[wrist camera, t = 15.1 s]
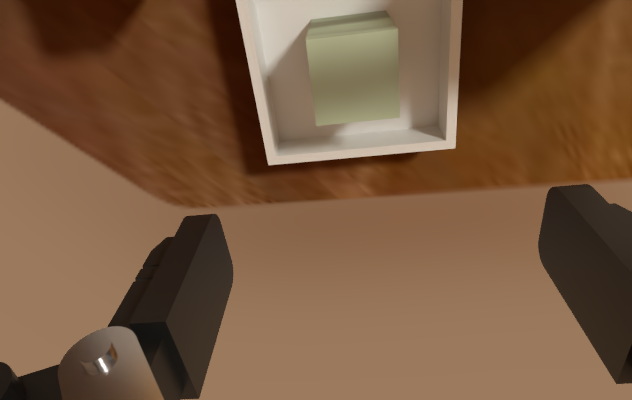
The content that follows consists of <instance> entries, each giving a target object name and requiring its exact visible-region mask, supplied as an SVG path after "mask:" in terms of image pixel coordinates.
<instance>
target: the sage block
mask: <svg viewBox="0 0 632 400" xmlns="http://www.w3.org/2000/svg"><path fill="white" fill-rule="evenodd" d="M306 48H307V56H308V64H309V72H310V80H311V88H312V96H313V104H314V112H315V120H316V126H320V125H331V124H341V123H351V122H361V121H372V120H382V119H392V118H400V102H399V48H398V28H397V27H396V25H395V24H394V22H393V21H392V19H391V18H390V16H389V15H388V13H387V12H386V10H385V11H377V12H369V13H360V14H352V15H344V16H336V17H327V18H319V19H311V22H310V26H309V29H308V33H307V36H306Z"/></svg>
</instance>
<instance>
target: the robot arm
mask: <svg viewBox="0 0 632 400" xmlns="http://www.w3.org/2000/svg"><path fill="white" fill-rule="evenodd" d="M538 246H539V247H538V248H539V254H540V259H541V262H542V264H543V266H544V268H545V269H546V271H547V273H548V274H549V276H550V278H551V279H552V281H553V282H554V284H555V286H556V287H557V289H558V290H559V292H560V293H561V295H562V297H563V299H564V300H565V302H566V303H567V305H568V307H569V308H570V310H571V311H572V313H573V315H574V316H575V318H576V319H577V321H578V322H579V324H580V326H581V328H582V329H583V331H584V332H585V334H586V336H587V337H588V339H589V340H590V342H591V344H592V345H593V347H594V348H595V350H596V352H597V353H598V355H599V357H600V358H601V360H602V361H603V363H604V365H605V366H606V368H607V369H608V371H609V373H610V374H611V376H612V378H613V379H614V381H615V382H616V384H623V383H632V212H631V211H629V210H627V209H625V208H623V207H621V206H619V205H617V204H609V203H608V202H607V201H606V200H605V199H604V198H603V197H602V196H601V195H600V194H599V193H598V192H597V191H596V190H595V189H594V188H593V187H592V186H590V185H588V184H583V185H571V186H559V187H552V188H551V189H550V190H549V191H548V194H547V198H546V203H545V208H544V214H543V219H542V225H541V230H540V235H539V242H538ZM232 283H233V265H232V260H231V257H230V253H229V250H228V246H227V243H226V239H225V236H224V232H223V229H222V225H221V222H220V219H219V217H218V216H217V215H216V214H208V215H196V216H186V217H185V218H184V219H183V221H182V223H181V225H180V227H179V229H178V231H177V232H176V235H175V236H174V237H167V238H165V239H164V240H163V241H162V242H161V243H160V244H159V245H157V246H156V247H155V248H154V249H153V250H152V251H151V252H150V254H149V256H148V258H147V259H146V261H145V263H144V264H143V269H141V270H140V272H139V273H138V275H137V277H136V281H135V282H133V284H132V285H131V287H130V289H129V290H128V292H127V294H126V296H125V298H124V299H123V301H122V303H121V305H120V306H119V308H118V310H117V311H116V313H115V315H114V316H113V318H112V320H111V322H110V323H109V325H108V327H107V328H103V329H100V330H97V331H95V332H93V333H91V334H89V335H87V336H85V337H84V338H82V339H81V340H80V341H78V342H77V343H76V344H75V345H73V346H72V347H71V349H69V350H68V352H67V353H66V354H65V356H64V357H63V359H62V360H61V362H60V364H59V365H56V366H52V367H49V368H46V369H43V370H40V371H36V372H33V373H30V374H27V375H24V376H21V377H17V376H16V375H15V373H14V372H13V371H12V369H11V368H10V367H9V366H8V365H7V364H5V363H2V362H0V400H180V399H198V398H199V397H200V393H201V390H202V386H203V383H204V380H205V376H206V373H207V369H208V366H209V362H210V359H211V355H212V352H213V349H214V345H215V342H216V339H217V335H218V332H219V328H220V325H221V321H222V318H223V315H224V311H225V308H226V304H227V301H228V298H229V294H230V291H231V287H232Z"/></svg>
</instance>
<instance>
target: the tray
mask: <svg viewBox="0 0 632 400" xmlns="http://www.w3.org/2000/svg"><path fill="white" fill-rule="evenodd" d="M236 5H237V10H238V15H239V20H240V25H241V30H242V35H243V40H244V45H245V50H246V55H247V60H248V65H249V70H250V75H251V80H252V86H253V91H254V96H255V101H256V106H257V111H258V116H259V121H260V126H261V131H262V136H263V141H264V146H265V151H266V156H267V161H268V165H278V164H289V163H300V162H311V161H322V160H333V159H343V158H354V157H365V156H376V155H387V154H398V153H409V152H420V151H431V150H442V149H453V148H455V144H456V125H457V105H458V86H459V67H460V47H461V28H462V9H463V0H236ZM385 10H386V12H387V13H388V15H389V16H390V18H391V19H392V21H393V22H394V24H395V25H396V27H397V28H398V48H399V102H400V118H392V119H382V120H372V121H361V122H351V123H341V124H331V125H320V126H316V120H315V112H314V104H313V96H312V88H311V80H310V72H309V64H308V56H307V48H306V36H307V33H308V29H309V26H310V22H311V19H319V18H327V17H336V16H344V15H352V14H360V13H369V12H377V11H385Z"/></svg>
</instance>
